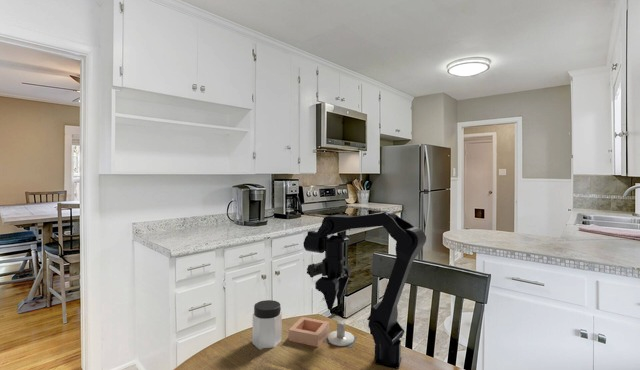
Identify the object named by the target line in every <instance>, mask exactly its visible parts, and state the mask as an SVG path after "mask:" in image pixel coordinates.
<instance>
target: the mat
mask: <svg viewBox="0 0 640 370" xmlns="http://www.w3.org/2000/svg"><path fill="white" fill-rule="evenodd" d="M353 336H354V342H353V343H352V344H351V345H348V346H344V347H347V348H353V346H354V344H355V342H356V341H357V339H358V336H355V335H353ZM323 342H324V343H327V344H328V343H329V344H331V343H330V342H329V341H328V336H326V337H325V339H324V340H323Z"/></svg>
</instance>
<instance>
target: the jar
mask: <svg viewBox="0 0 640 370" xmlns="http://www.w3.org/2000/svg"><path fill="white" fill-rule="evenodd" d="M253 307H254V308H253V314H252V340H251V341H252V345H254V347H256V348H257V349H258V350H259V351H261V350H263V349H269V348H270V349H271V348H276V346H278V345H279V344H280V342H281V341H282V329H283V328H282V327H283V323H282V322H283V321H282V320H283V319H282V318H283V317H282V315H283V313H282V312H281V310H282V309H281V303H280V302H279V301H277V300H272V299H271V300H270V299H266V300H261V301H258V302H256V303H255V304H254V305H253Z"/></svg>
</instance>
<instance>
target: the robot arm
mask: <svg viewBox="0 0 640 370" xmlns="http://www.w3.org/2000/svg"><path fill="white" fill-rule="evenodd" d="M374 227H375V228H376V227H383V228H384V229H385V230H386V232H387V233H388V235H389V236H390V237H391V238H392V239H393V240H394V241H395V242H396V243H395V261H394V264H393V267H392V270H391V272H390V275H389V278H388V281H387V284H386V287H385V290H384V293H383V296H382V298H381V300H380V301H379V302H377V303H376V304H374V305H373V306H372V307H371V308H370V313H369V316H368V317H367V321H368V324H367V325H368V328H369V330H370V332H371V335H372V339H373V342H374V360H375V362H374V364H375V365H377V366H381V367H385V368H390V369H395V370H399V369H400V365H401V361H402V356H401V355H402V354H401V352H402V347H401V346H402V340H401V339H402V338H403V336H404V333H405V329H403V326H402V325H400V323H399V322H398V317H399V315H398V314H399V311H398V305H399V301H400V299H401V296H402V293H403V290H404V288H405V285H406V283H407V279H408V276H409V273H410V270H411V268H412V264H413V262H414V260H416V258H417V256H418V255H419V254H420V252H421V251H422V250H423V247H424V246H425V243H426V241H427V235H426V234H425V232H424V230H423V229H421V228H420V227H417V226H414V225H413V224H411V223H410V222H409V221H407V220H405V219H403V218H402V217H400V216H399V215H398V214H396V213H395V212H393V211H391V210H390V211H384V212H379V213H371V214H362V215H361V214H360V215H354V216H353V215H345V214H334V215H332V214H331V215H328V216H327V215H326V216H324V217H323V219H322V222H321V225H320V227H319V228H318V230H317V231H315V230H308V231H307V235H306V236H305V238H304V240H303V249H304V250H305V251H306V252H310V253H311V252H312V253H318V254H324V258H323V259H322V260H321V261H320V262H317V263H311V264H308V265H307V268H306V274H307V275H309V278H314V277H316V276H319V275H321V277H319V278H318V279H317V280H316V281H315V282H314V283H315V284H314V285H315V287H314V289H315V290H316V291H318V292H320V293H321V294H322V295H323V297H324V301H325V303H326V306H327V310H328V311H332V310H333V308H334V305H335V301H336V300H339V301H340V300H341V299H342V297H343V294H344V292H345V288H346V286H347V284H348V282H349V280H350V276H351V273H352V269H351V267H350V266H349V265H344V262H345V261H346V256H344V243H347V242H349V241H350V239H349V237H348V236H347V235H346V234H345V233H343V232H345V231H349V230H353V229H363V228H374ZM339 233H340V234H339ZM336 234H339V235H336ZM328 236H330V237H328Z"/></svg>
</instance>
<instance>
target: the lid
mask: <svg viewBox="0 0 640 370" xmlns="http://www.w3.org/2000/svg"><path fill="white" fill-rule="evenodd" d="M354 336H355V335H353V333H351V332H349V331H346V322H345V321H341V320H340V321H337V322H336V330H334V331H330V332H329V333H328V335H327V337H328V341H329V342H330V343H329V344H331V345H333V346H335V347H337V346H338V347H345V346H348V345H351V344H352V343H353V342H354ZM354 343H355V342H354Z"/></svg>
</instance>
